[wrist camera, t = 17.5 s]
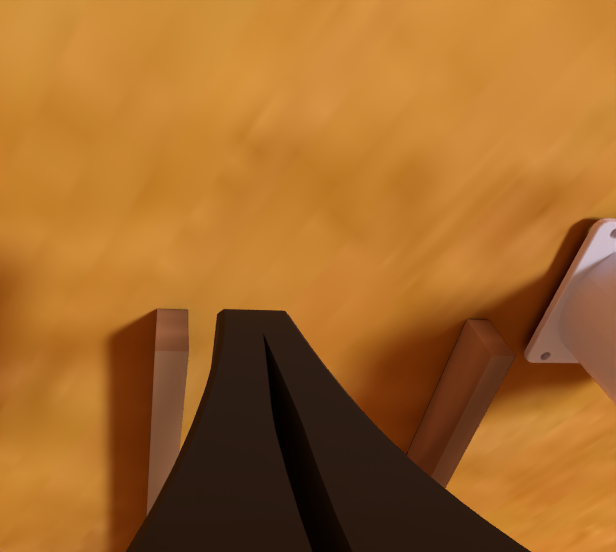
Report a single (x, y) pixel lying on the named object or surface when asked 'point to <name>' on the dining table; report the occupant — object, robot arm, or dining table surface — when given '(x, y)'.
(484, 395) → the cart frame
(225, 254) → the dining table surface
